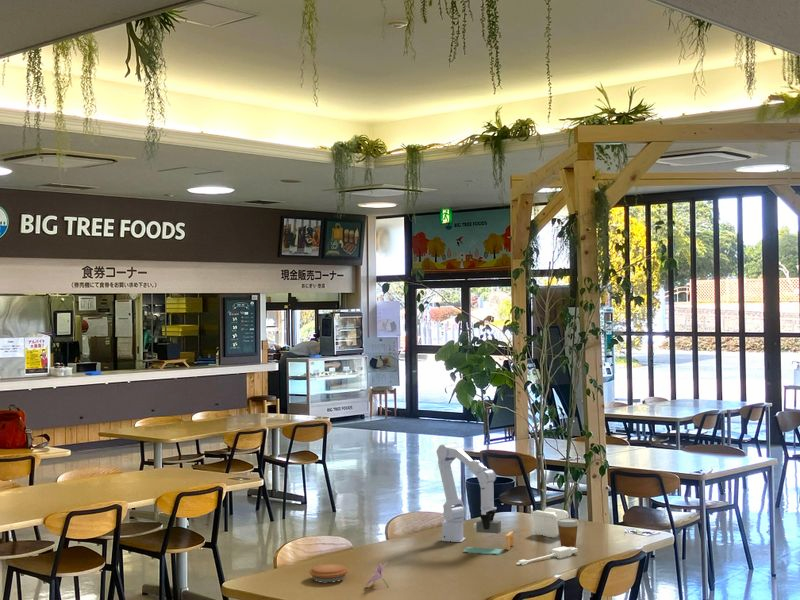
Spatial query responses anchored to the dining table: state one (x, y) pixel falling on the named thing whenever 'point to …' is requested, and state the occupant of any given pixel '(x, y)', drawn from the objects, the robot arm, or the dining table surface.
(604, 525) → the dining table surface
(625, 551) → the dining table surface
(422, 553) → the dining table surface
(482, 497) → the robot arm
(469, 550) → the mat
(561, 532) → the disposable coffee cup
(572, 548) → the charging cable
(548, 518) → the cable organizer
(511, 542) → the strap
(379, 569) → the lily
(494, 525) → the grey box
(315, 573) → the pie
